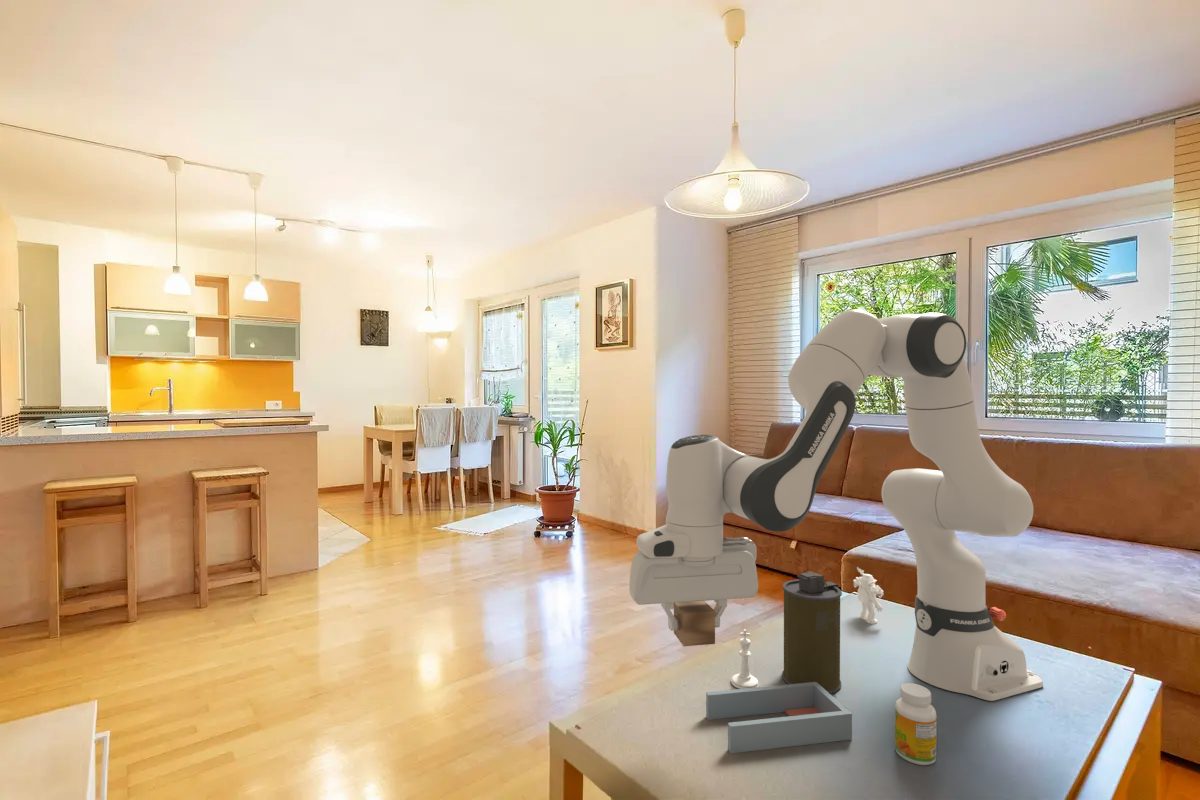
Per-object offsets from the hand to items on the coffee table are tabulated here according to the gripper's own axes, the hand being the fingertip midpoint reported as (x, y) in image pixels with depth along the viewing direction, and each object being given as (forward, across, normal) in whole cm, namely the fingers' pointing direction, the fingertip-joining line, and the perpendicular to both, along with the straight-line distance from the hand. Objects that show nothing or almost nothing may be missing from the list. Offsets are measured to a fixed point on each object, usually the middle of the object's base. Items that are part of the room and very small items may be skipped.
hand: (694, 627), depth 88 cm
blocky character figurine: (+17, -57, -37) cm, 70 cm away
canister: (+17, -28, -13) cm, 35 cm away
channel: (+17, -14, 0) cm, 22 cm away
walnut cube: (+2, 0, 0) cm, 2 cm away
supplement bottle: (+17, -31, +10) cm, 37 cm away
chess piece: (+17, -15, -14) cm, 27 cm away
